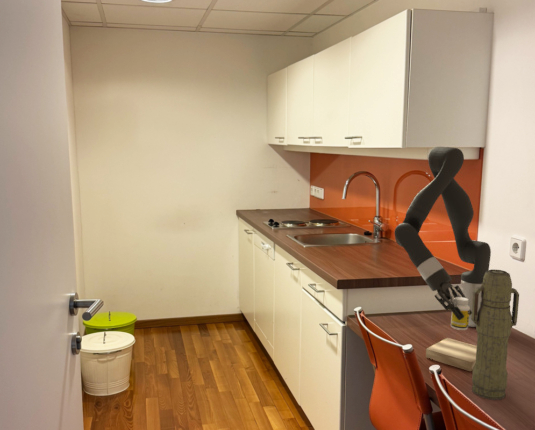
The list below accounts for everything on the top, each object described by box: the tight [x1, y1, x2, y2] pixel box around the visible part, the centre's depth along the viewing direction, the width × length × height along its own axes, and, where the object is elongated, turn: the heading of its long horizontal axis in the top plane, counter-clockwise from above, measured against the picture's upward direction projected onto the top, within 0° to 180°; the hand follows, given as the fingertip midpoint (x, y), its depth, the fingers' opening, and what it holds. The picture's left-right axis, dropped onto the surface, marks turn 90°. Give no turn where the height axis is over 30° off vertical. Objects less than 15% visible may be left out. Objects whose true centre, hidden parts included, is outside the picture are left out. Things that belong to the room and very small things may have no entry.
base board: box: [425, 337, 477, 372], centre depth 172 cm, size 15×15×3 cm
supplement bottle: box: [450, 297, 470, 331], centre depth 170 cm, size 5×5×10 cm
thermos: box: [471, 269, 520, 401], centre depth 145 cm, size 9×12×35 cm
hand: (465, 316), depth 169 cm, fingers closed on supplement bottle, 5 cm apart
